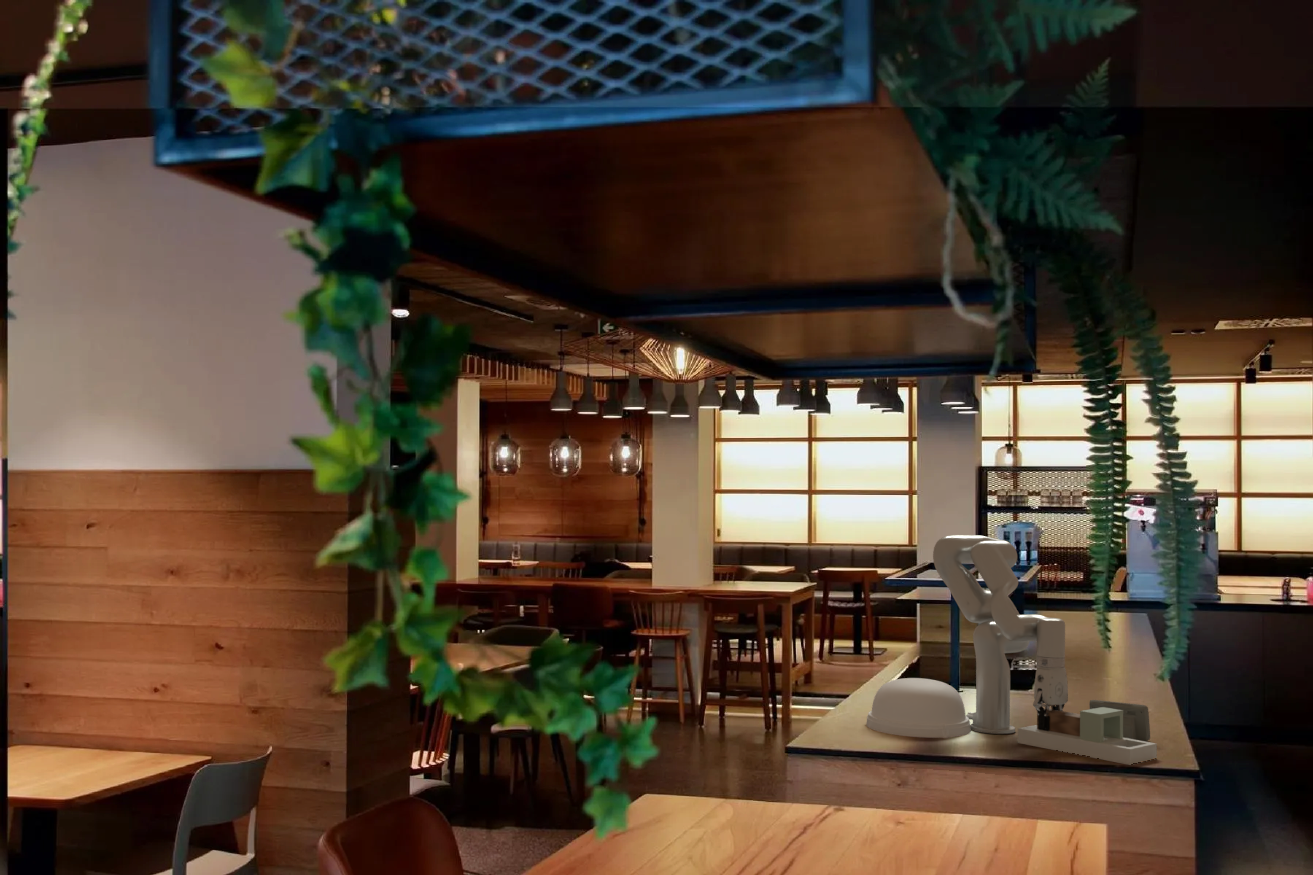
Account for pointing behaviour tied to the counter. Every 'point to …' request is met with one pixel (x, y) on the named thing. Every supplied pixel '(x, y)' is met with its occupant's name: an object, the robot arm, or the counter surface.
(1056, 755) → the counter surface
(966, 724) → the dome cover
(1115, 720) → the tunnel
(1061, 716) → the walnut bar
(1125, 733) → the digital clock
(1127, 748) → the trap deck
